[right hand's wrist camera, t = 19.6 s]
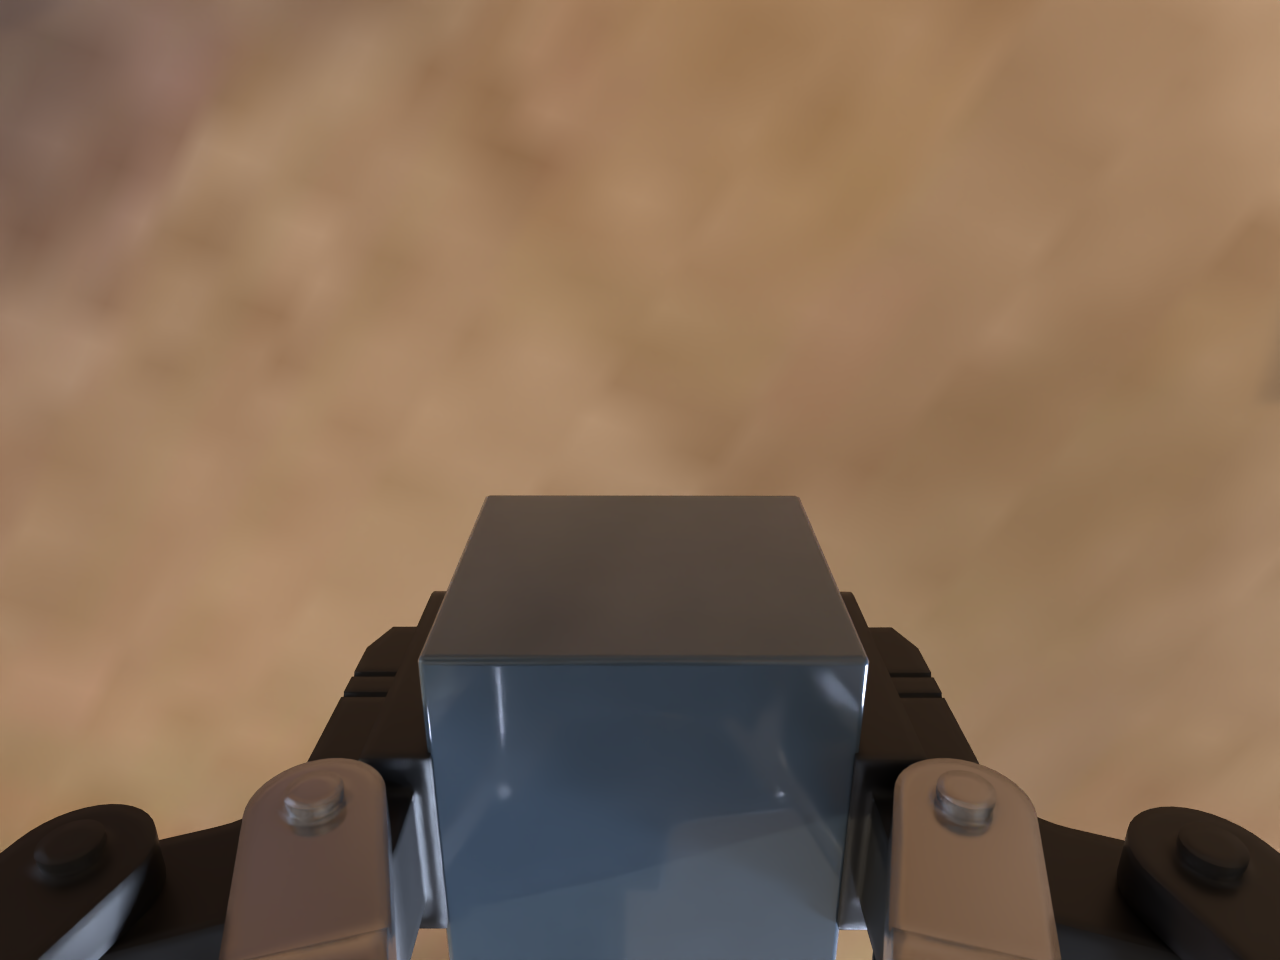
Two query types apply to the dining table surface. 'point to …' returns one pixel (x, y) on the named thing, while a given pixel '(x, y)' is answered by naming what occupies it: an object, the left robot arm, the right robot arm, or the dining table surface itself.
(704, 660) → the block
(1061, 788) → the dining table surface
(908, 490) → the dining table surface
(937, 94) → the dining table surface
